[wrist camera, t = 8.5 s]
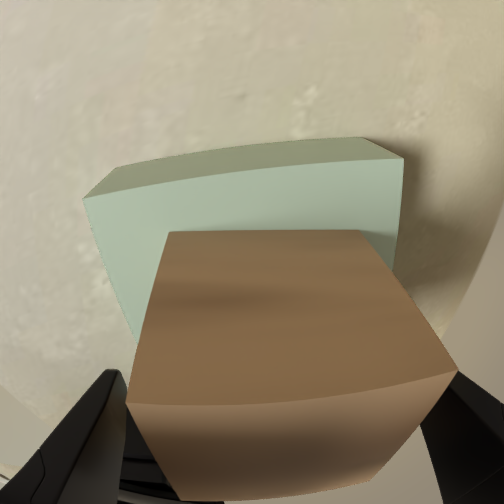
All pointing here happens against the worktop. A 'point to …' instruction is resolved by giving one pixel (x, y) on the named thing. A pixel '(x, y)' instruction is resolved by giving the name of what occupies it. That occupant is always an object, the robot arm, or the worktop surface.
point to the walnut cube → (279, 363)
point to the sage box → (240, 202)
